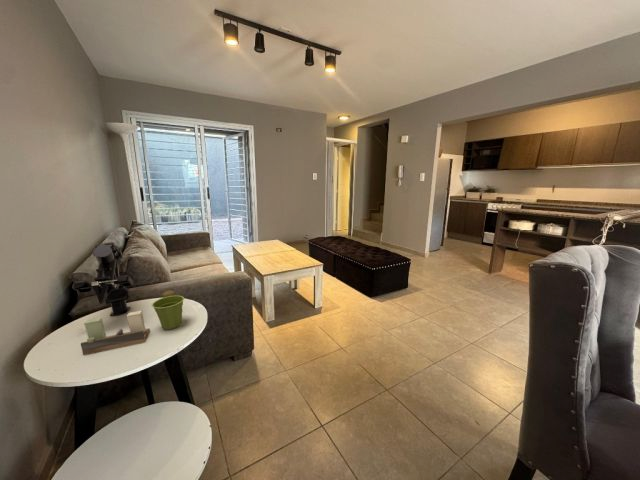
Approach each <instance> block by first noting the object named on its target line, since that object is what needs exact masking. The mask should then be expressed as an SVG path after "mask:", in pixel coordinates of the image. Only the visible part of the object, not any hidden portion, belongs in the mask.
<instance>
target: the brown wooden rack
mask: <svg viewBox="0 0 640 480" xmlns="http://www.w3.org/2000/svg"><path fill="white" fill-rule="evenodd" d="M150 332H151V329H150V327H148V328H147V327H146V328H145V332H144V331H138V332H133V333H131V332H130V331H128V332H124V331H123V328H119V330H118V331H117V333H115V334H113V335H106V338H103V339H98V340H95V338H94V337H91V338H87V339H86V341H83V342H81V343H80V347H81V352H82V355H83V356H86V355H92V354H95V353H101V352H105V351H110V350H113V349H114V350H115V349H121V348H123V347H129V346H133V345H139V344H143V343H146V340H147V338H148V337H149V334H150Z"/></svg>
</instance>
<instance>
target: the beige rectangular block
mask: <svg viewBox="0 0 640 480" xmlns="http://www.w3.org/2000/svg"><path fill="white" fill-rule="evenodd" d="M127 313H128V314H127V315H126V318H127V323H128V326H129V330H130V331H129V332H131V333H133V332H138V331H144V332H145V329H146V326H145V321H144V316H143V310H138V311H132V312H127Z"/></svg>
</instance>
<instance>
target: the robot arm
mask: <svg viewBox="0 0 640 480" xmlns="http://www.w3.org/2000/svg"><path fill="white" fill-rule="evenodd" d="M92 255H93V256H94V257H95V259H96V261H97V262H98V266H97V268H95V272H96V276H95V277H94V278H93V280H94V281H92V282H91V283H89V281H87V280H81V281H80V280H79V281H75V282H74V283H73V284H72V287H71V288H72V289H73V290H74V291H76V292H77V293H78V294H86V293H90V292H91V291H93V292H94V293H95V295H96V297H97V301H98V302H99V304H100V305H103V304H104V303H105V304H106V305H108V304H109V305H110V306H111V307H110V308H111V310H112V312H111V313H110V314H109V316H110V317H113V316H118V315H125V314H127V313H129V310H130V309H131V306H128V305H127V300H129V299H130V298H131V295H130V294H131V293H130V291H129V289H128V288H129V287H132V286H134V280H133V279H132V277H130V275H128V274H125V275H120V270H119V266H120V265H121V264H122V259H123V253H122V250H121V248H120V247H119V246H117V245H116V244H115V242H112V241H111V242H103V243H99V244H96V245H95V247H93V250H92ZM127 287H128V288H127Z"/></svg>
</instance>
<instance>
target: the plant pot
mask: <svg viewBox="0 0 640 480" xmlns="http://www.w3.org/2000/svg"><path fill="white" fill-rule="evenodd" d="M184 301H185V297H184V296H182V295H175V296H168V297H164V298H163V297H162V298H159V299H157V300H154V302H152V303H151V308H153V309H154V311H155V313H156V315H157V317H158V320H159V323H160V325H161V327H162V329H164V330H173V329H175V328H176V327H177V328H178V327H179V326H181V325H182V323H183V322H182V320H183V305H184Z"/></svg>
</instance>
